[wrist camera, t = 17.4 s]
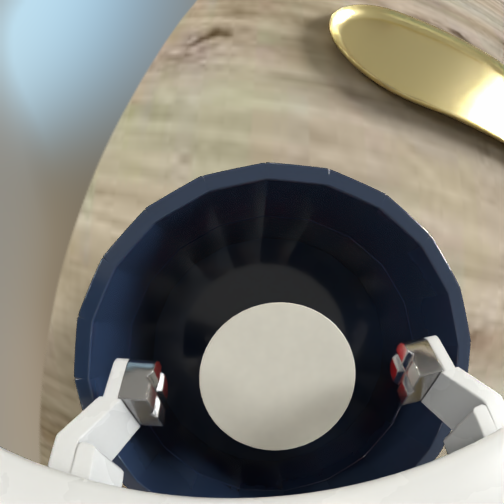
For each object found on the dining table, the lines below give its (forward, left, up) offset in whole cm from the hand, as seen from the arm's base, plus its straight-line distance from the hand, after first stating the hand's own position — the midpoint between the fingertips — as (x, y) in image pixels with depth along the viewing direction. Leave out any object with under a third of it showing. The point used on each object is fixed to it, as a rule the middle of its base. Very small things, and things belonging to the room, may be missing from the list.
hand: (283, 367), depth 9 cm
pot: (0, -1, -10) cm, 10 cm away
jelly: (0, -1, -9) cm, 9 cm away
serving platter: (+30, +21, -10) cm, 38 cm away
